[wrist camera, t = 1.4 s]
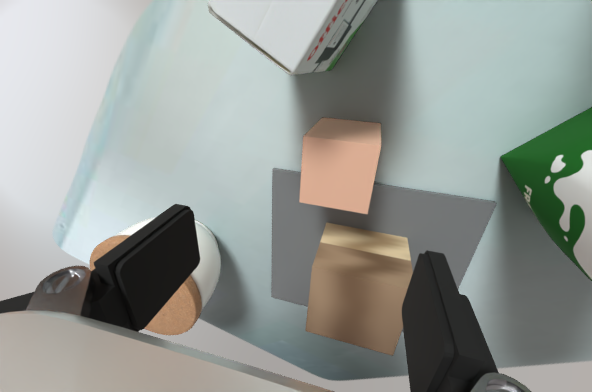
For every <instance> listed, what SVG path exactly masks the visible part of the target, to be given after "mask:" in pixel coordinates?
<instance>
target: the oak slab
mask: <svg viewBox="0 0 592 392" xmlns="http://www.w3.org/2000/svg"><path fill="white" fill-rule="evenodd" d="M320 242H322V243H327V244H332V245H337V246H342V247H347V248H351V249H356V250H361V251H366V252H371V253H376V254H380V255H385V256H390V257H395V258H400V259H405V260H410V261H411V257H410V251H409V245H408V239H407V238H406V237H401V236H395V235H390V234H385V233H379V232H374V231H369V230H364V229H358V228H353V227H348V226H342V225H337V224H332V223H326V226H325V229H324V232H323V235H322V238H321V241H320Z"/></svg>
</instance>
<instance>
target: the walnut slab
mask: <svg viewBox="0 0 592 392" xmlns="http://www.w3.org/2000/svg"><path fill="white" fill-rule="evenodd" d="M412 274H413V270H412V264H411V261H410V260H405V259H400V258H395V257H390V256H385V255H380V254H376V253H371V252H366V251H361V250H356V249H351V248H347V247H342V246H337V245H332V244H327V243H322V242H320V244H319V247H318V250H317V253H316V256H315V259H314V262H313V265H312V272H311V282H310V292H309V302H308V312H307V322H306V331H307V332H311V333H315V334H318V335H322V336H325V337H329V338H332V339H336V340H339V341H343V342H346V343H350V344H353V345H357V346H360V347H364V348H368V349H371V350H375V351H378V352H382V353H385V354H389V355H392V356H393V354H394V351H395V348H396V345H397V343H398V340H399V337H400V334H401V331H402V328H403V321H402V304H403V301H404V298H405V295H406V292H407V289H408V286H409V283H410V280H411V277H412Z"/></svg>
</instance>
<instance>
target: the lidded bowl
mask: <svg viewBox="0 0 592 392" xmlns="http://www.w3.org/2000/svg"><path fill="white" fill-rule="evenodd" d="M155 218H156V217H153V218H149V219H146V220H143V221H141V222H138V223H136V224H134V225H132V226H130V227H128V228H127V229H125V230H123V231H122V232H120V233H118V234H117V235H115V236H113V237H111V238H109V239H107V240H105V241H103V242H102V243H100V244H99V245H97V246H96V248H95V249H94V250H93V252H92V254H91V257H90V270H91V271H92V270H94V269H95V266H94V263H93V262H95V261H96V260H97V259H99V258H100V257H102V256H103V255H104V254H106V253H107V252H109V251H110V250H111V249H113V248H114V247H116V246H117V245H118V244H120V243H121V242H123V241H124V240H125V239H127V238H128V237H129V236H131V235H132V234H134V233H135V232H136V231H138V230H139V229H141V228H142V227H143V226H145V225H146V224H148V223H149V222H150V221H152V220H153V219H155ZM195 226H196V233H197V240H198V246H199V253H200V263H199V265H198V266H197V268H196V269H195V270H194V271H193V272H192V274H191V275H190V276H189V277H188V278H187V279H186V281H185V282H184V283H183V284H182V285H181V286H180V288H179V289H178V290H177V291H176V292H175V293H174V295H173V296H172V297H171V298H170V299H169V300H168V302H167V303H166V304H165V305H164V306H163V307H162V309H161V310H160V311H159V312H158V313H157V314H156V316H155V317H154V318H153V319H152V320H151V321H150V323H149V324H148V325H147V326H146V327H145V328H144V329H146V330H149V331H152V332H155V333H158V334H163V335H178V334H182V333H184V332H186V331H188V330H189V329H190V328H192V326H193V325H194V324H195V322H196V321H197V319H198V318H199V316H200V314H201V312H202V310H203V309H204V307H205V306H206V304H207V303H208V301H209V300H210V298H211V296H212V294H213V292H214V290H215V288H216V285H217V283H218V280H219V277H220V271H221V257H220V253H219V249H218V243H217V240H216V238H215V236H214V235H213V233H212V232H211V231H210V230H209V229H208V228H207V227H206V226H205V225H204V224H202V223H201V222H199V221H197V220H195Z"/></svg>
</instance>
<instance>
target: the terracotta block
mask: <svg viewBox="0 0 592 392" xmlns="http://www.w3.org/2000/svg"><path fill="white" fill-rule="evenodd" d="M380 149H381V123H374V122H364V121H354V120H345V119H335V118H325V117H322V118H321V119H320V120H319V121H318V122H317V123H316V124H315V125H314V126H313V127H312V128H311V129H310V130H309V131H308V132H307V133H306V134H305V135H304V136H303V150H302V167H301V183H300V199H299V202H301V203H306V204H312V205H318V206H323V207H329V208H335V209H340V210H346V211H352V212H357V213H363V214H368V209H369V204H370V199H371V194H372V189H373V184H374V179H375V174H376V169H377V164H378V159H379V154H380Z"/></svg>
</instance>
